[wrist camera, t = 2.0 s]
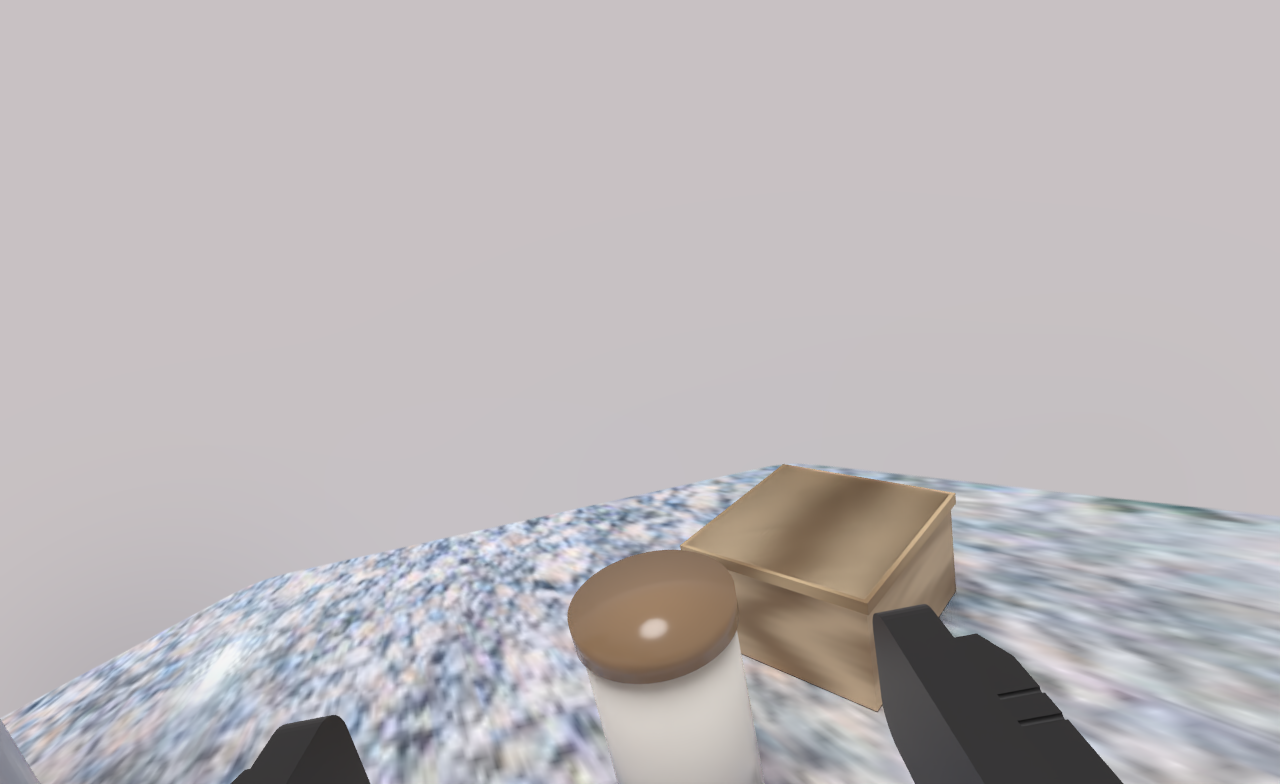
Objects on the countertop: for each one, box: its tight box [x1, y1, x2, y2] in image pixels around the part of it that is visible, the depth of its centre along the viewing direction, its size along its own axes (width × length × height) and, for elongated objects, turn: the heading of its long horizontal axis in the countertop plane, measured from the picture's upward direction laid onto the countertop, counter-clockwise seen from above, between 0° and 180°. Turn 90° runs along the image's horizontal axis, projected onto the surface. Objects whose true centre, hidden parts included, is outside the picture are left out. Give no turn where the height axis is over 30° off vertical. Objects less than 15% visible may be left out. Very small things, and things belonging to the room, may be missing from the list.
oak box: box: [680, 464, 956, 712], centre depth 35 cm, size 10×10×6 cm
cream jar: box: [568, 550, 765, 784], centre depth 24 cm, size 6×6×11 cm
